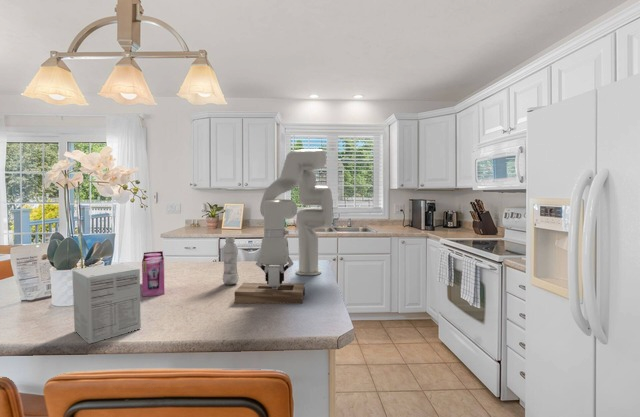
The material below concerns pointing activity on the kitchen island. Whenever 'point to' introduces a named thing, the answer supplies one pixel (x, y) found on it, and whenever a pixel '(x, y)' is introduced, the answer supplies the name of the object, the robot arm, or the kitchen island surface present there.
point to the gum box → (153, 273)
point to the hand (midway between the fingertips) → (274, 282)
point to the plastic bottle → (230, 262)
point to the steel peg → (274, 276)
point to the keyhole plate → (270, 293)
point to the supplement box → (106, 301)
